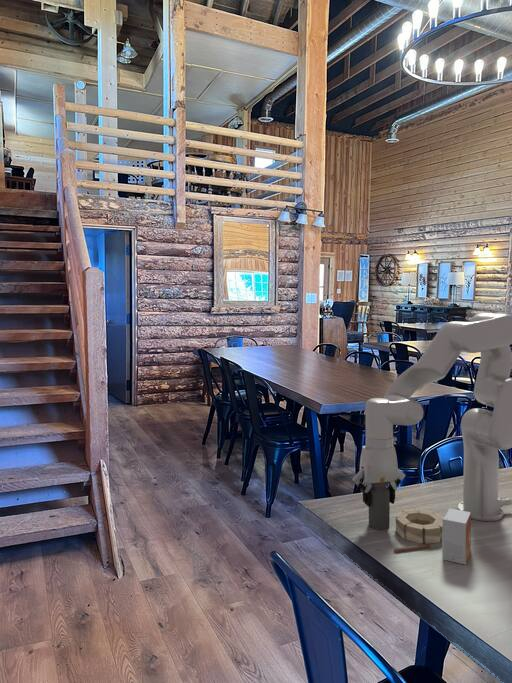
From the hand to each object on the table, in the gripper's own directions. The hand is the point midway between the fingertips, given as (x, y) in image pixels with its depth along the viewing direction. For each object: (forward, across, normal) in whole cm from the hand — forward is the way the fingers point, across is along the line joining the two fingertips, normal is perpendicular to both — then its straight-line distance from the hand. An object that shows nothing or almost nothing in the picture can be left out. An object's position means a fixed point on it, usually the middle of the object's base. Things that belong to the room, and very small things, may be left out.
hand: (379, 502), depth 144 cm
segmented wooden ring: (+7, -9, +7) cm, 13 cm away
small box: (+7, -11, +20) cm, 24 cm away
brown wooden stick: (+7, -2, +15) cm, 17 cm away
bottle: (+7, 0, 0) cm, 7 cm away
